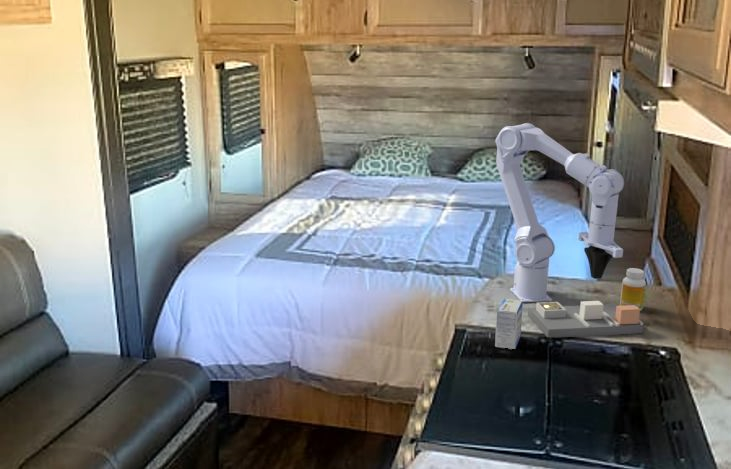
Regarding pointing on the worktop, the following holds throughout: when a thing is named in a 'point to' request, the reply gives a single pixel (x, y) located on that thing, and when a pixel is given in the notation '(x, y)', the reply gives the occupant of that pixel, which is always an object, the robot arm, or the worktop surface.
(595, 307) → the ivory rectangular block
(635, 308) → the salmon orange block
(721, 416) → the worktop surface
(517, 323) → the medicine box
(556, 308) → the brass button
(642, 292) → the supplement bottle
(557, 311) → the switch panel
